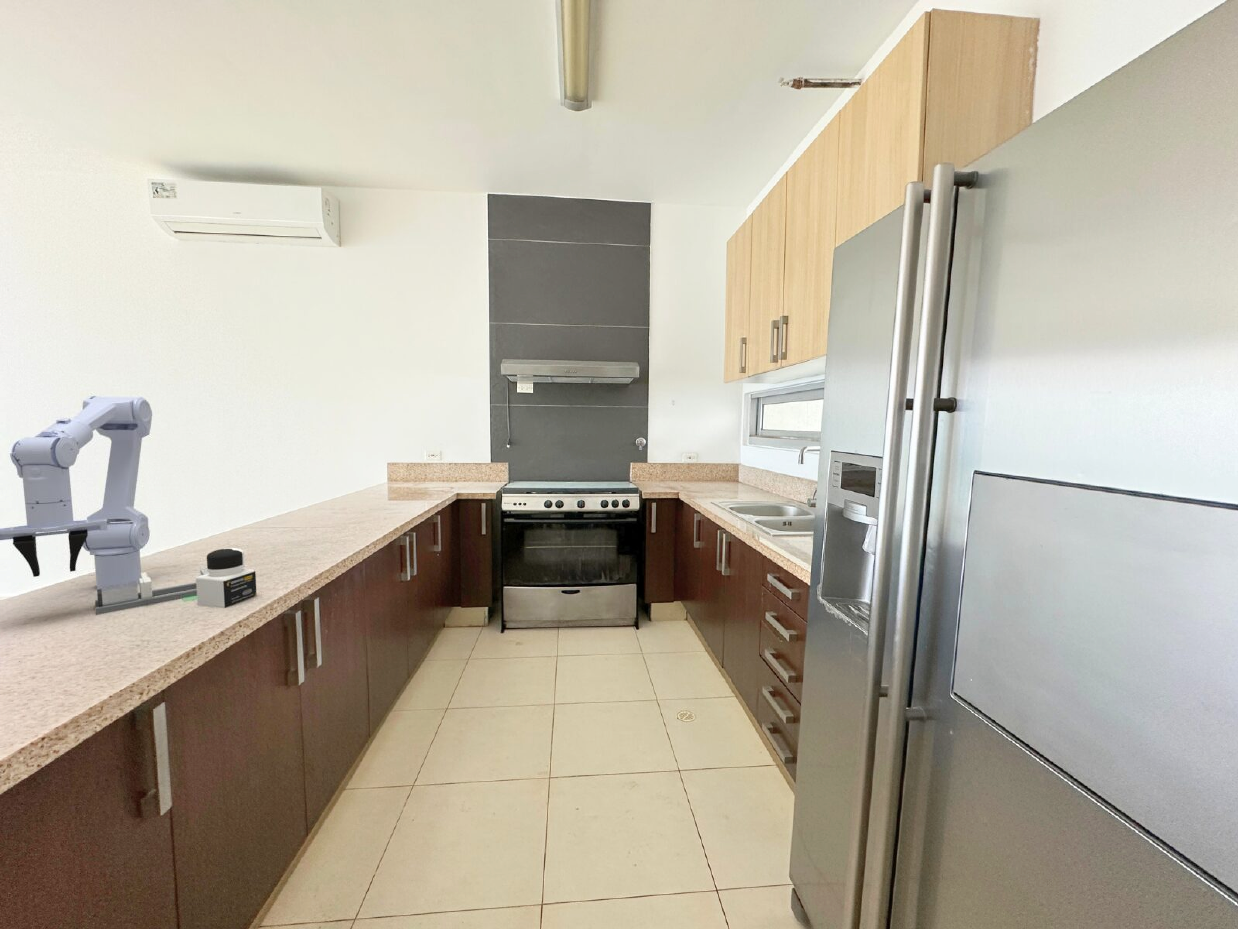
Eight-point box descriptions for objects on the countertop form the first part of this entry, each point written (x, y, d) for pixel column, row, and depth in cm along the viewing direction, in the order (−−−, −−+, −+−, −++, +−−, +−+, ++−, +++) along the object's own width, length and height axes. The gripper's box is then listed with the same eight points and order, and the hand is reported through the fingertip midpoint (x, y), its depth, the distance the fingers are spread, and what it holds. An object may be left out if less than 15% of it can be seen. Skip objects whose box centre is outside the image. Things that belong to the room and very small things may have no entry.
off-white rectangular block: (139, 596, 105) (137, 573, 105) (149, 594, 106) (148, 571, 106) (143, 607, 99) (141, 583, 99) (154, 605, 100) (152, 581, 100)
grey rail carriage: (98, 606, 99) (96, 587, 99) (137, 599, 103) (135, 581, 103) (98, 612, 96) (97, 592, 96) (138, 604, 100) (137, 585, 100)
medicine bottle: (225, 614, 100) (222, 556, 99) (197, 610, 101) (193, 553, 100) (257, 601, 107) (255, 547, 106) (230, 598, 108) (227, 545, 107)
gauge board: (95, 608, 102) (93, 583, 101) (208, 587, 115) (206, 565, 114) (96, 625, 93) (94, 598, 93) (217, 601, 107) (216, 577, 106)
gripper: (-18, 509, 84) (-10, 586, 85) (105, 499, 95) (111, 569, 96) (-12, 503, 89) (-5, 577, 90) (104, 495, 99) (109, 561, 100)
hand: (55, 572), depth 93 cm, fingers open, 4 cm apart
